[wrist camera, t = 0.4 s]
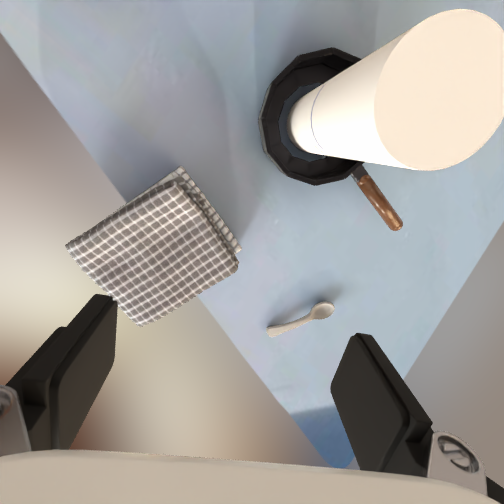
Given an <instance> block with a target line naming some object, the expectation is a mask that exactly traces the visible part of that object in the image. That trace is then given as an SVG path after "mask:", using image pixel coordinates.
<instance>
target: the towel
mask: <svg viewBox="0 0 504 504" xmlns="http://www.w3.org/2000/svg"><path fill="white" fill-rule="evenodd" d="M65 246H66V248H67V250H68V251H69V252H70V255H71V256H72V258H74V259H75V261H76V262H77V264H78V265H80V266H81V268H82V270H83V271H84V272H86V273H87V274H88V276H89V277H90V278H91V279H93V280H94V281H95V283H96V284H98V285H99V286H100V287H101V288H102V289H103V290H104V291H105V292H107V293H108V295H109V296H112V297H113V300H114V301H117V302H118V306H119V308H120V309H121V310H122V311H124V313H125V314H126V315H127V316H128V317H130V319H131V320H132V321H133V322H135V323H136V325H137V326H141V327H143V326H144V325H147V324H149V323H151V322H154V321H156V320H158V319H160V318H162V317H163V316H165V315H166V314H168V313H169V312H172V311H173V310H175V309H176V308H178V307H180V306H181V305H183V304H184V303H186V302H187V301H189V300H190V299H192V298H193V297H195V296H196V295H197V294H200V293H202V291H203V290H205V289H208V288H210V286H212V285H215V284H216V283H217V282H220V281H221V280H224V278H226V277H228V276H230V275H231V274H233V273H235V272H236V271H237V269H238V264H239V261H238V260H237V258H236V256H235V254H236V253H237V252H239V251H241V249H242V248H241V245H240V244H239V243H238V242H237V240H236V239H235V238H234V237H233V234H232V233H231V232H230V231H229V229H228V227H227V226H226V225H225V224H224V222H223V220H222V219H221V218H220V216H219V215H218V213H216V212H215V209H214V208H213V207H212V206H211V205H210V203H209V201H208V200H207V199H206V197H205V196H204V194H203V193H202V192H201V191H200V189H199V188H198V187H197V186H195V183H194V182H193V181H192V180H191V179H190V176H189V175H188V174H187V173H186V172H185V169H184V168H183V167H182V166H180V167H178V168H177V170H175V171H173V172H172V173H170V174H169V175H167V176H166V177H165V178H163V179H161V180H160V181H159V182H157V183H156V184H154V185H153V186H152V187H150V188H149V189H147V190H146V191H145V192H143V193H142V194H140V195H138V196H137V197H136V198H134V199H133V200H132V201H130V202H128V203H126V204H125V205H124V206H122V207H120V208H119V210H117V211H115V212H114V213H113V214H111V215H109V216H108V217H107V218H106V219H104V220H103V221H101V222H100V223H98V224H97V225H96V226H94V227H93V228H91V229H90V230H88V231H87V232H84V233H83V234H82V235H80V236H78V237H77V238H75V239H74V240H71V241H70V242H69V243H68V244H66V245H65Z"/></svg>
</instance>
